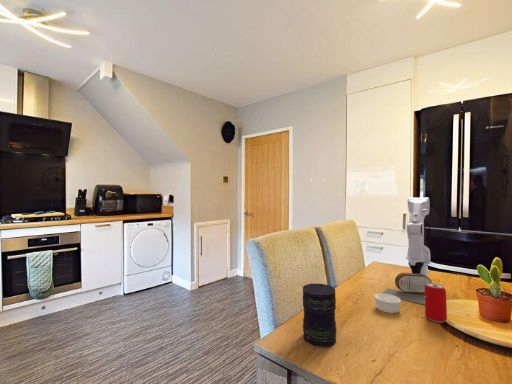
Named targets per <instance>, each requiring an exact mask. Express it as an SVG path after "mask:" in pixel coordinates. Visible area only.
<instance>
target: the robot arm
mask: <svg viewBox="0 0 512 384" xmlns="http://www.w3.org/2000/svg"><path fill="white" fill-rule="evenodd" d="M407 209H408V213H409V214H410V215H409V219H408V223H407V224H406V233H407V240H408V241H407V242H408V243H407V244H408V247H407V252H406V253H407V255H406V257H405V259H406V260H407V261H408V266H409V267H410V273H417V274H424V275H426V276H427V277H428V278H429V268H428V265H430V264H431V250H430V248H429V247H427V245H424V243H425V241H424V240H425V233H424V232H425V230H424V229H425V227H424V226H425V223H424V222H425V221H424V220H425V218H426V216H428V215H429V214H430V198H429V197H408V198H407Z"/></svg>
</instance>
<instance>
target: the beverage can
mask: <svg viewBox="0 0 512 384" xmlns="http://www.w3.org/2000/svg"><path fill="white" fill-rule="evenodd" d="M424 296H425V305H424V315H425V316H424V317H426V318H427V320H430V321H431V322H433V323H439V324H442V323H445V322H447V321H446V319H447V320H448V314H447V313H448V309H447V307H448V306H447V291H446V288H445V286H444V284H440V283H437V282H436V283H435V282H432V283H426V286H425V288H424Z"/></svg>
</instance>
